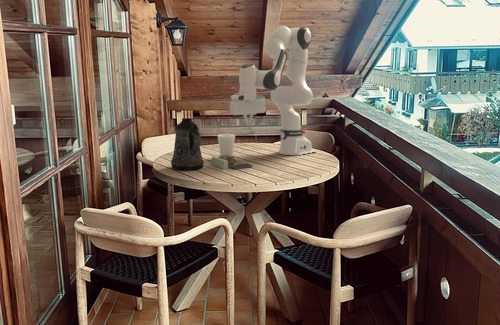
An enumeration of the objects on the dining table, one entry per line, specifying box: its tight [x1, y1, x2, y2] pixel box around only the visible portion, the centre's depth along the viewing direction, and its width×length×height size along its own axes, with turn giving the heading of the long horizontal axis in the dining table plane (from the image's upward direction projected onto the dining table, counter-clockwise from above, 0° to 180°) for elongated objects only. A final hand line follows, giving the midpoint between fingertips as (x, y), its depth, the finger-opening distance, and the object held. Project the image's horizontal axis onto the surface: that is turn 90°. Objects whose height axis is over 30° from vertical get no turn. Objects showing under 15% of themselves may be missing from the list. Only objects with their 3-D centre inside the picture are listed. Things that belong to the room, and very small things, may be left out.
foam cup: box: [217, 133, 236, 156], centre depth 279 cm, size 10×9×13 cm
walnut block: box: [218, 155, 235, 168], centre depth 261 cm, size 6×6×5 cm
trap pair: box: [229, 158, 253, 170], centre depth 263 cm, size 10×21×1 cm, turn 31°
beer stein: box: [170, 118, 205, 172], centre depth 253 cm, size 16×19×25 cm
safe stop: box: [211, 155, 229, 170], centre depth 259 cm, size 2×14×4 cm, turn 30°
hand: (248, 122), depth 264 cm, fingers closed
